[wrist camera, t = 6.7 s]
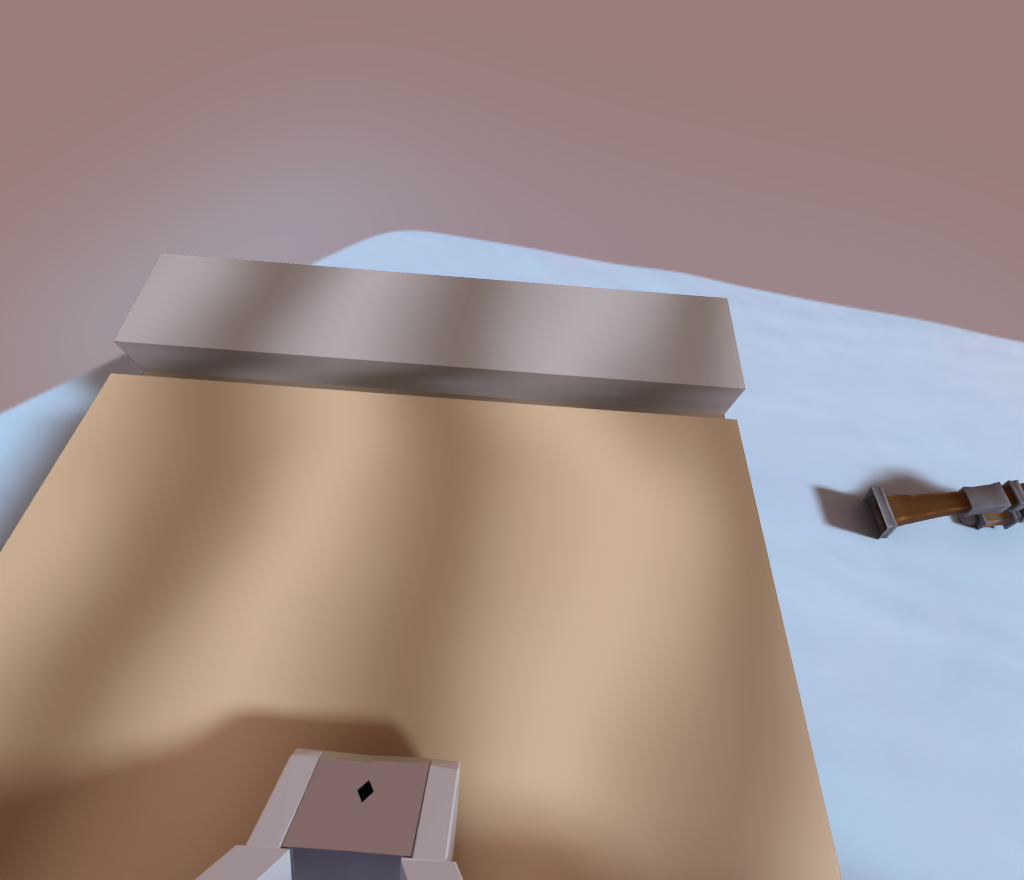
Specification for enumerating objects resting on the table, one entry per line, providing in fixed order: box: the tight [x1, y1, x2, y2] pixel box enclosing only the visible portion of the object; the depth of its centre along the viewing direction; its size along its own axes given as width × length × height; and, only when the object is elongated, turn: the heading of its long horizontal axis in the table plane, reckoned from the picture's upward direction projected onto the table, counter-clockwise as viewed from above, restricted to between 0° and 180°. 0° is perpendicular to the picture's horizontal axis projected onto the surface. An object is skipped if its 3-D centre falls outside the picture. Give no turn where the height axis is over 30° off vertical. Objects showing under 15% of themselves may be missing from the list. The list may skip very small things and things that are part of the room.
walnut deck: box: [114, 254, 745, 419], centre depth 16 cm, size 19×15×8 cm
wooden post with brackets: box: [863, 480, 1024, 539], centre depth 21 cm, size 2×8×4 cm, turn 91°
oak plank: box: [0, 373, 842, 880], centre depth 12 cm, size 18×13×2 cm
